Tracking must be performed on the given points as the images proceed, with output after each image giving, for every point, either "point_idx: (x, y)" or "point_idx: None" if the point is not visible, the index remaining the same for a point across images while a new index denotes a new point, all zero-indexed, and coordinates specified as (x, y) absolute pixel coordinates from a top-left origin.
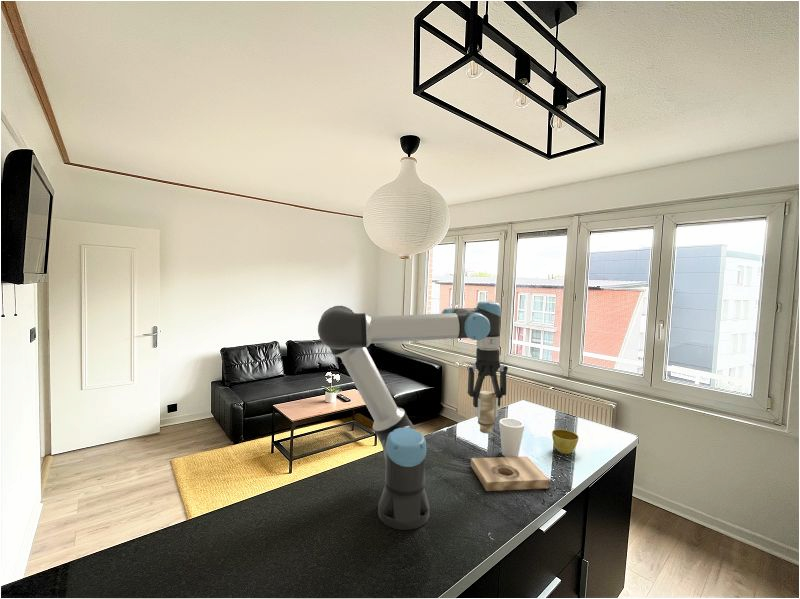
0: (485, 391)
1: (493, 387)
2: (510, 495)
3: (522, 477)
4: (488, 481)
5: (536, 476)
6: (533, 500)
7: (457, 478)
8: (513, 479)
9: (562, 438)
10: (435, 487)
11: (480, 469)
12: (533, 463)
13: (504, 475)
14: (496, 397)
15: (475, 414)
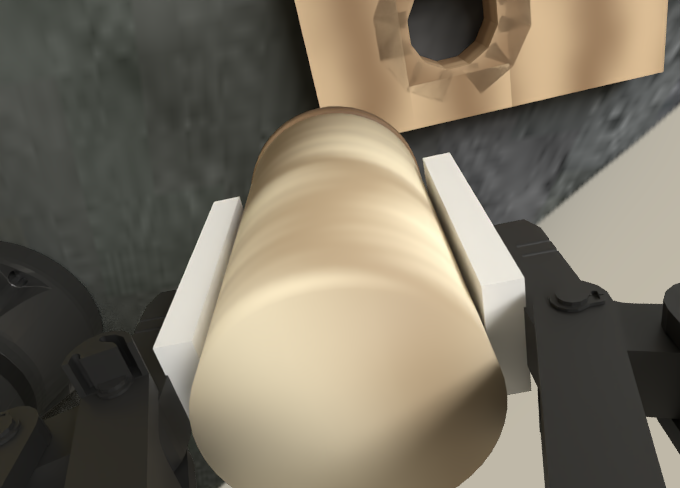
0: (342, 321)
1: (543, 415)
2: (430, 151)
3: (527, 73)
4: None
5: (610, 49)
6: (518, 171)
7: (188, 42)
8: (472, 100)
9: None
10: (88, 143)
11: (311, 21)
12: None
13: (436, 67)
14: (513, 373)
15: (214, 205)
